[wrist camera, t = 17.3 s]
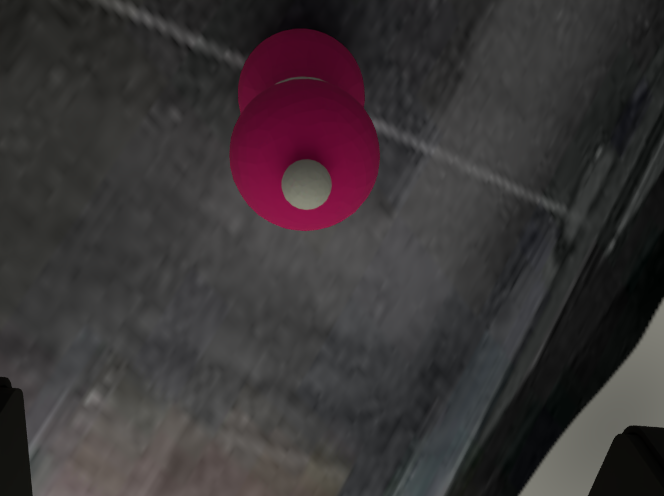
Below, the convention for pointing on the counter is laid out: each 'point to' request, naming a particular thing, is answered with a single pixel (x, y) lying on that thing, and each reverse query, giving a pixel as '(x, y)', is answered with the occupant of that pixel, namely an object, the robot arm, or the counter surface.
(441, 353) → the counter surface
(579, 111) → the counter surface
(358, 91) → the pepper mill
